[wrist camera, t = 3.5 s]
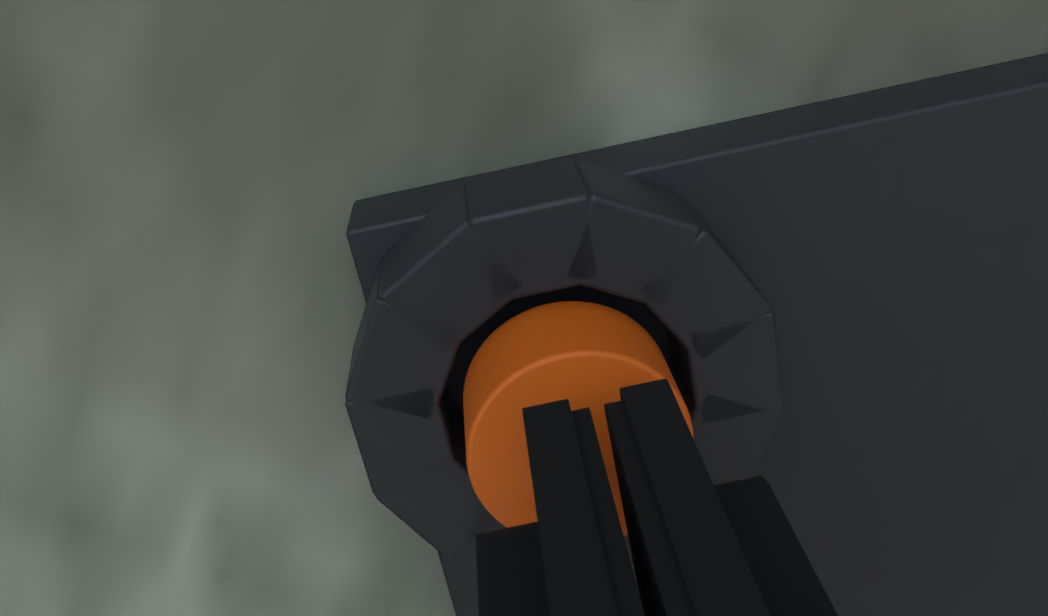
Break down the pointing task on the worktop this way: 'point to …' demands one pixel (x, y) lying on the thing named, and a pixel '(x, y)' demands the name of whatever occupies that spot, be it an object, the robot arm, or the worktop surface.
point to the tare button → (549, 393)
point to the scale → (763, 326)
